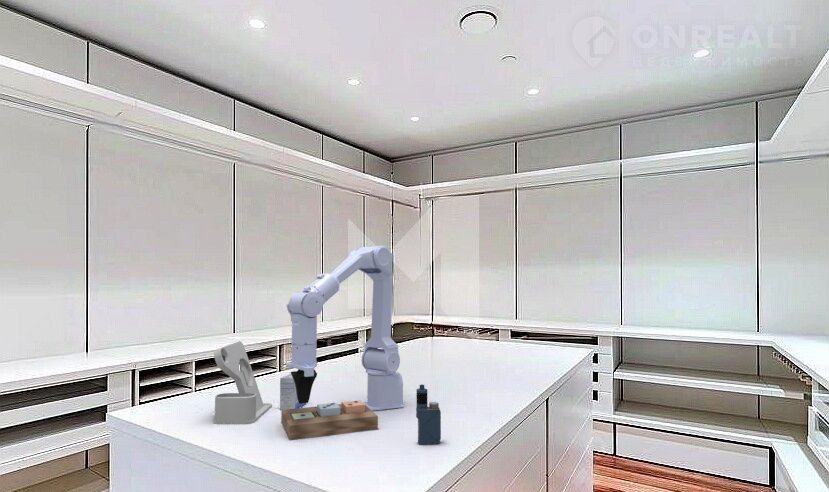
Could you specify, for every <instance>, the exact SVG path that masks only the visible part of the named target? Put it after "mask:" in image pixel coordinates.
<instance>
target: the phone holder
mask: <svg viewBox="0 0 829 492" xmlns="http://www.w3.org/2000/svg"><path fill="white" fill-rule="evenodd" d="M213 357H214V361H215V363H216V366H217V367H218V368H219V369H220V370H221V371H222V372H224V373H225V374H226V375H227V376H228V377H230V378H231V379H232V380H233V381H234V382H235V385H236V388H237V392H236V393H235V392H234V393H233V392H226V393H224V392H223V393H219V394H216V395H215V397H214V419H213V421H212V424H213V425H252V424H255V423H256V422H257V421H258V420H260V419H261V417H263V416H264V415H265V414H266V413H267V412H268V411H269V410H270V409H271V408H272V407H273V404H272V403H270V402H267V403H264V402H263V399H262V396H261V392H260V389H259V387H258V384H257V381H256V378H255V375H254V372H253V369H252V365H251V362H250V360H249V357H248V353H247V352H246V348H245V344H244V343H243V342H242V341H237V342H234V343H231V344H228V345H226V346H222V347H219V348H216V349H215V350H214V352H213Z"/></svg>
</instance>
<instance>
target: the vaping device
mask: <svg viewBox="0 0 829 492" xmlns="http://www.w3.org/2000/svg"><path fill="white" fill-rule="evenodd" d="M428 404H429V405H428ZM415 411H416V412H415V413H416V414H415V418H417V444H418V445H423V446H424V445H425V446H427V445H439V444H440V443H441V439H442V438H441V437H442V429H441V428H442V419H441V418H442V416H441V415H442V414H441V413H442V412H441V409H440V406H439V402H436V401H431V402H429V403H428V389H427V388H425V384H419V387H418V388H416V408H415Z"/></svg>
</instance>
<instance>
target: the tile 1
mask: <svg viewBox="0 0 829 492" xmlns="http://www.w3.org/2000/svg"><path fill="white" fill-rule="evenodd" d="M291 417H292V419H293V420H295V419H305V418H314V415H313V414H312V413H311V412H307V413H297V414H291Z"/></svg>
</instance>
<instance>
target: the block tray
mask: <svg viewBox="0 0 829 492" xmlns="http://www.w3.org/2000/svg"><path fill="white" fill-rule="evenodd" d="M337 404H338V405H339V406H340V415H332V416H323V417H319V415H318V414H317V405H315V406H307V407H300V408H295V409H285V410H281V412H280V413H281V414H280V415H281V416H280V417H281V418H280V420H281V421H280V424H281V425H282V428H283V429H284V431H285V434H286V436H287V438H288V441H292V440H302V439H310V438H318V437H326V436H333V435H341V434H343V435H344V434H349V433H358V432H359V433H360V432H367V431H373V430H374V431H375V430H378V429H379V416H378V414H376V413H375V412H374V411H371V410H370V409H369V408H368V407H367V406H365V412H360V413H351V414H345V413H344V412H343V411H342V410H341V409H342V403H337ZM307 412H311V413H312V414H313V415H314V418H305V419H295V420H293V419H292V417H291V414H297V413H307Z"/></svg>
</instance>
